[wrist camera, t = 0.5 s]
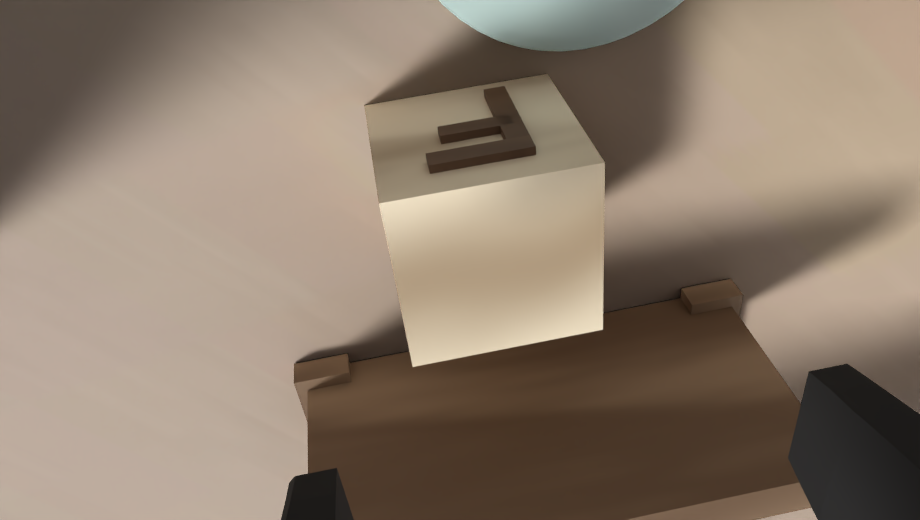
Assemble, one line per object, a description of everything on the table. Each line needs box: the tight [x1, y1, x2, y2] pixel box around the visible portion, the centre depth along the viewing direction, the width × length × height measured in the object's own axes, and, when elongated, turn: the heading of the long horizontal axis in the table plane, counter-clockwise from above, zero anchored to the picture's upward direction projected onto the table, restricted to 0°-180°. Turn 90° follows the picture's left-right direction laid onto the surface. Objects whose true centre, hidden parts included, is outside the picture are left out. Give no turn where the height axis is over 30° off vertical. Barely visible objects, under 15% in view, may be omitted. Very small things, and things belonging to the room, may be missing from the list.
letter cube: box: [364, 74, 605, 367], centre depth 18 cm, size 5×4×4 cm
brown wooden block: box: [294, 279, 811, 520], centre depth 21 cm, size 4×14×7 cm, turn 97°
